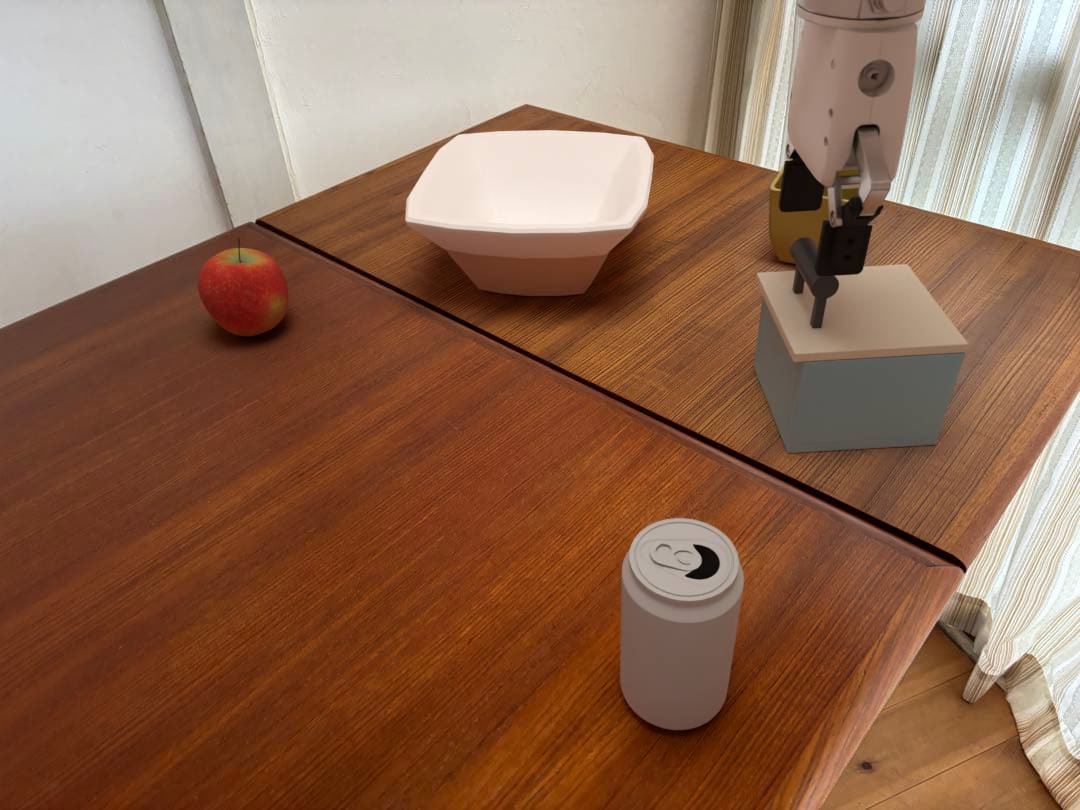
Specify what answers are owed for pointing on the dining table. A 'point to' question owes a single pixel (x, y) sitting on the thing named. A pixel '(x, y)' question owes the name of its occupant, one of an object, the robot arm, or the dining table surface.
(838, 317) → the lid
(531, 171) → the bowl
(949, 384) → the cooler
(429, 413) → the dining table surface
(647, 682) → the beverage can
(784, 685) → the dining table surface
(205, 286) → the apple
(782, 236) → the flower pot
